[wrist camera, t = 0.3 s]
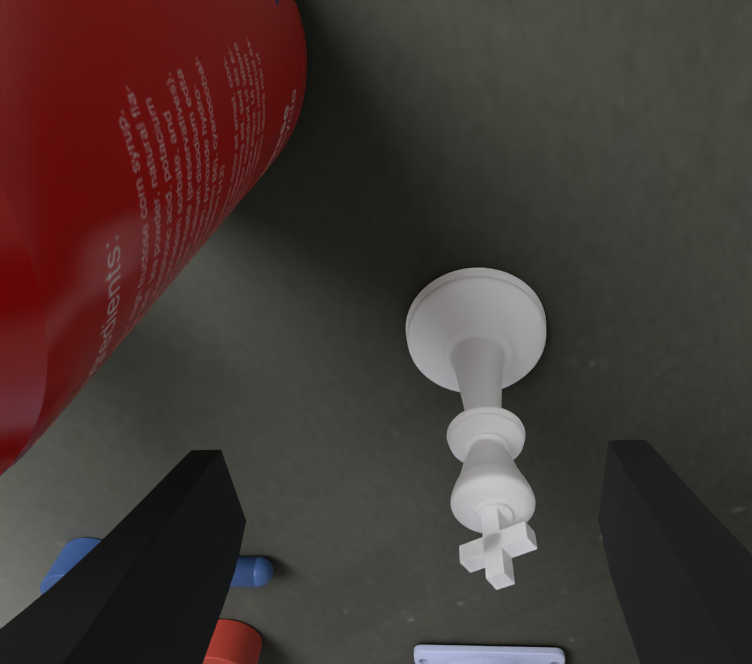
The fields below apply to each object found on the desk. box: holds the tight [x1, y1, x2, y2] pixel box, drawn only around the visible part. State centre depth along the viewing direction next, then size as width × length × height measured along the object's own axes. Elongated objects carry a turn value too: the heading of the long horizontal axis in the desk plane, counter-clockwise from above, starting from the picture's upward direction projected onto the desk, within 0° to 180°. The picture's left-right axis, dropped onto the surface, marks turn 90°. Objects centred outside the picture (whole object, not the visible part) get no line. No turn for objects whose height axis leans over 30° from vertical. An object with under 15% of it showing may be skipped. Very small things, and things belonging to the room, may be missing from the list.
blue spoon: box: [40, 538, 273, 594], centre depth 29 cm, size 12×4×2 cm, turn 97°
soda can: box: [0, 0, 307, 475], centre depth 10 cm, size 8×8×15 cm
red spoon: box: [203, 619, 262, 664], centre depth 33 cm, size 12×4×2 cm, turn 97°
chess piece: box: [406, 268, 546, 590], centre depth 16 cm, size 5×5×10 cm
